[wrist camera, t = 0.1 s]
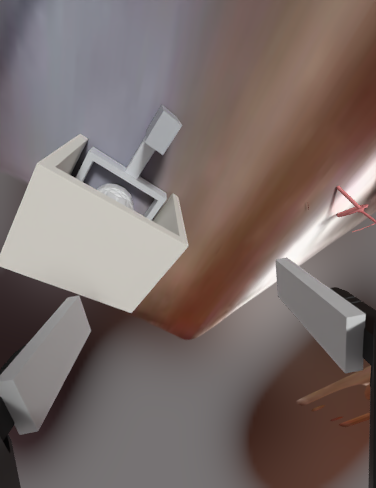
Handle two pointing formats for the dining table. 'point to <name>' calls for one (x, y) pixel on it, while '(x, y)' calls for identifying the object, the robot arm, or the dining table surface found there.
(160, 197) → the square frame with handle
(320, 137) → the dining table surface
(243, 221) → the dining table surface
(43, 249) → the tunnel
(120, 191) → the white cup
